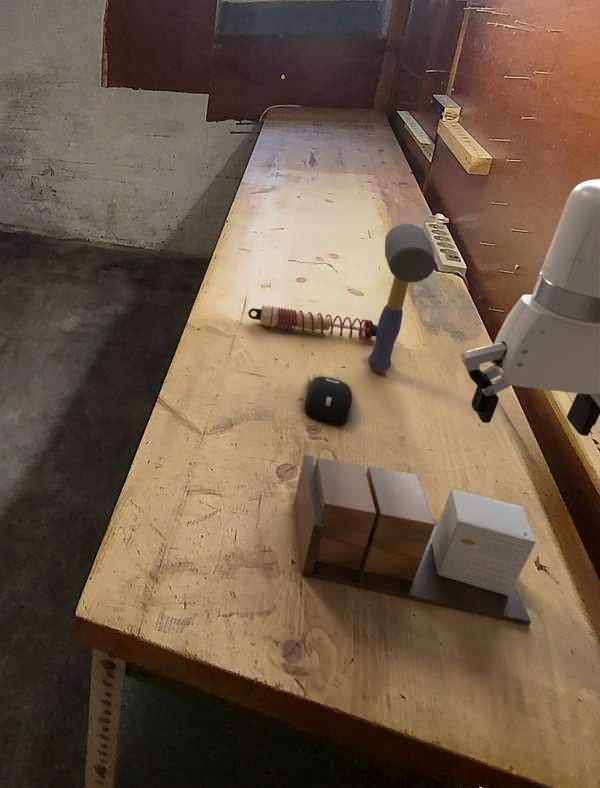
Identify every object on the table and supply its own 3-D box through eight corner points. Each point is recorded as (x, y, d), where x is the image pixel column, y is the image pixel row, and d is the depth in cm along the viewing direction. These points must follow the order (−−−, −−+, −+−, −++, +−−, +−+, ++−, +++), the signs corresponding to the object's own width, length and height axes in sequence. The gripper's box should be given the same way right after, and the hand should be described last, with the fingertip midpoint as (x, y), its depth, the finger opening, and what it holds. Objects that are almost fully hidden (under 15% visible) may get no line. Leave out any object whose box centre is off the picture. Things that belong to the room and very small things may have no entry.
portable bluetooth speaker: (352, 390, 108) (356, 373, 106) (346, 430, 99) (351, 412, 97) (310, 378, 111) (314, 362, 109) (301, 416, 102) (304, 399, 100)
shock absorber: (392, 320, 122) (249, 301, 131) (398, 324, 118) (249, 304, 127) (389, 342, 123) (246, 321, 132) (395, 346, 118) (247, 324, 127)
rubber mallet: (401, 392, 107) (443, 250, 94) (357, 383, 110) (392, 243, 97) (396, 356, 117) (433, 223, 104) (356, 348, 120) (387, 218, 107)
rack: (490, 540, 79) (518, 480, 74) (529, 625, 68) (564, 563, 63) (293, 502, 86) (306, 445, 80) (301, 575, 75) (316, 514, 70)
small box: (499, 560, 75) (525, 505, 71) (509, 598, 71) (538, 542, 66) (430, 540, 78) (450, 486, 74) (435, 575, 74) (458, 520, 69)
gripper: (657, 287, 60) (597, 410, 68) (472, 273, 65) (435, 391, 72) (708, 324, 54) (636, 456, 61) (499, 307, 58) (455, 432, 66)
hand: (527, 421), depth 67 cm, fingers open, 9 cm apart
